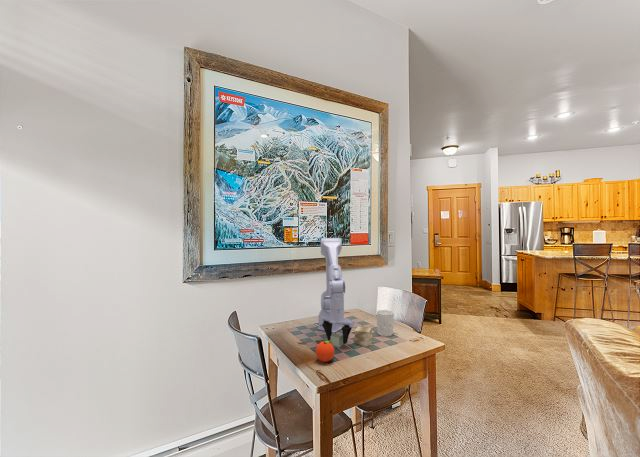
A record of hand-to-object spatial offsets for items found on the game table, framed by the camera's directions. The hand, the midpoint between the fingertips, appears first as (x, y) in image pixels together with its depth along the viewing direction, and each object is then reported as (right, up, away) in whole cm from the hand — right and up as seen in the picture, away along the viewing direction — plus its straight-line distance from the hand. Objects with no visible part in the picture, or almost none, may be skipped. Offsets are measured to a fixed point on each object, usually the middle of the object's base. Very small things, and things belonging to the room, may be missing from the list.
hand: (337, 341), depth 123 cm
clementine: (-5, -2, -15) cm, 16 cm away
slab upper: (+11, +1, +2) cm, 12 cm away
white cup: (+23, -2, +12) cm, 26 cm away
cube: (0, -2, 0) cm, 2 cm away
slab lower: (+11, -2, +2) cm, 12 cm away
